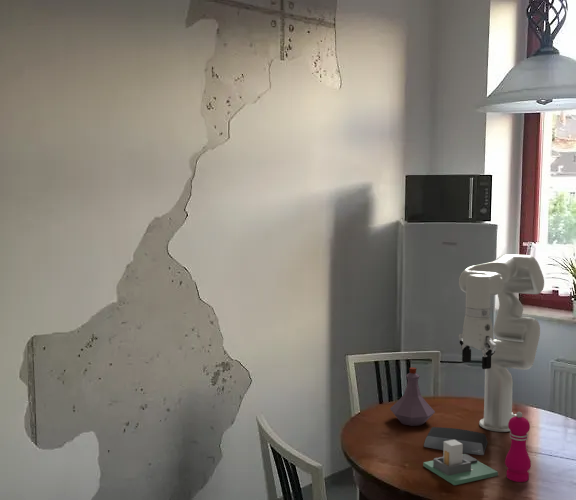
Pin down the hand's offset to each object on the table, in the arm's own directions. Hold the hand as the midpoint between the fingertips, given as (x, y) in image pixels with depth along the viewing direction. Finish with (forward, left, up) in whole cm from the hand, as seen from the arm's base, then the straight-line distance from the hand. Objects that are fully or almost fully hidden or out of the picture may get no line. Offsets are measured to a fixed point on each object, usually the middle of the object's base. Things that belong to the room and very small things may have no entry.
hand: (476, 364), depth 218 cm
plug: (+18, +12, -27) cm, 34 cm away
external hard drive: (+3, -6, -29) cm, 30 cm away
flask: (+3, -31, -28) cm, 42 cm away
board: (+15, +12, -28) cm, 34 cm away
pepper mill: (+3, +23, -28) cm, 36 cm away
